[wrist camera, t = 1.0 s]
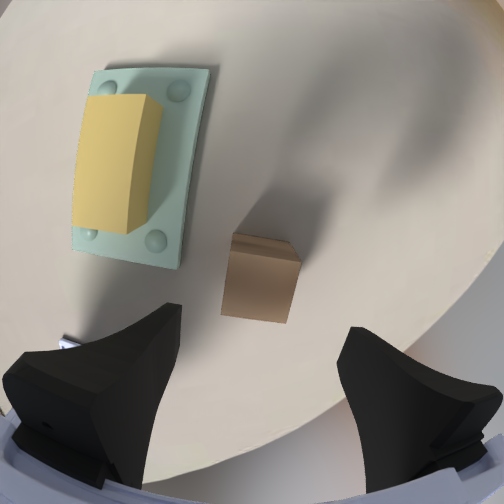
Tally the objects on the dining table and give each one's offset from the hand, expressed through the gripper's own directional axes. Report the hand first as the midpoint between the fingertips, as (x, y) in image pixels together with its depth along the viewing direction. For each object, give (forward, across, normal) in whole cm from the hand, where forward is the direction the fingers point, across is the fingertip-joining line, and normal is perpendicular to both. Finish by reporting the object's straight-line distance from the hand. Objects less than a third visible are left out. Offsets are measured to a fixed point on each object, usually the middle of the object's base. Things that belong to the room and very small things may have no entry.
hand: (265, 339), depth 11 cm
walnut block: (+10, 0, 0) cm, 10 cm away
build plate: (+9, +10, -6) cm, 15 cm away
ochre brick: (+8, +10, -6) cm, 14 cm away
